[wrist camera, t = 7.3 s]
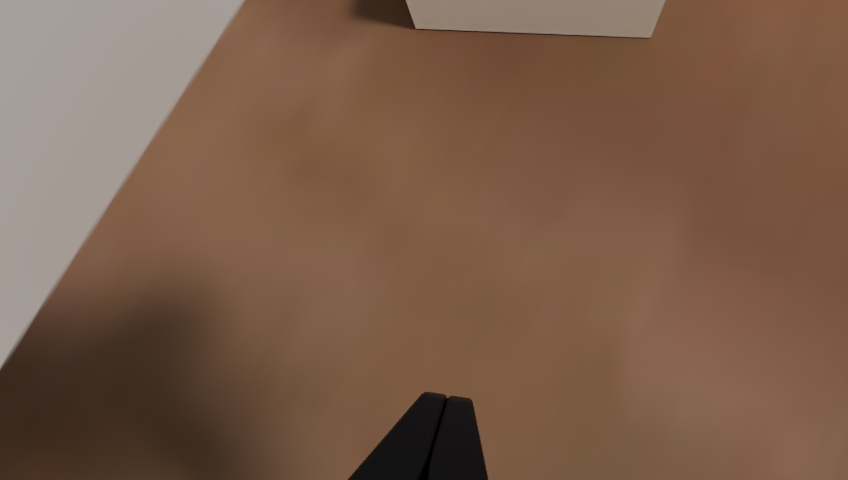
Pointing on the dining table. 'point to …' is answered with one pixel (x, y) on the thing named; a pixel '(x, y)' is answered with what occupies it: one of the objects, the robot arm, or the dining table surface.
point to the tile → (540, 16)
